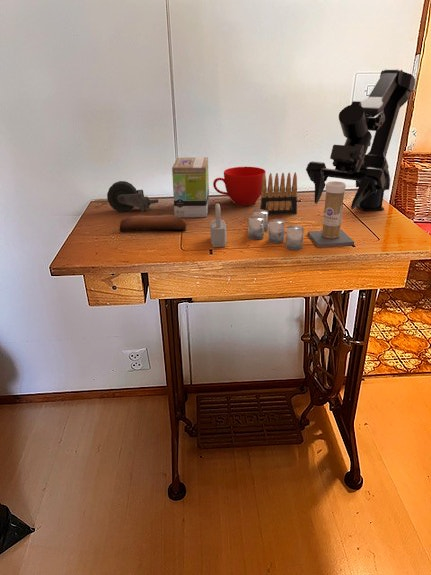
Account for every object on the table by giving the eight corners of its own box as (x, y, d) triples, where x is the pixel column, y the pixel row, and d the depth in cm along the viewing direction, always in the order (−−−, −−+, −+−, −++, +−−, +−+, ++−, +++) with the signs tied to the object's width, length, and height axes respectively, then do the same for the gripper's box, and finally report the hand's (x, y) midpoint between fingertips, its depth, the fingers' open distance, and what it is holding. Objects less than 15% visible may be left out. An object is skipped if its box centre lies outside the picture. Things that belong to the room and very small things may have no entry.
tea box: (208, 217, 131) (206, 166, 124) (173, 218, 131) (170, 167, 124) (209, 202, 144) (208, 155, 137) (178, 203, 144) (175, 156, 138)
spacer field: (286, 225, 123) (287, 207, 120) (304, 250, 107) (305, 230, 105) (244, 228, 122) (244, 210, 120) (255, 253, 106) (256, 233, 104)
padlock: (210, 237, 116) (209, 200, 112) (225, 237, 116) (225, 199, 112) (211, 247, 110) (209, 208, 106) (227, 247, 110) (226, 208, 106)
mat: (341, 232, 117) (341, 229, 117) (353, 244, 109) (354, 241, 109) (307, 234, 116) (307, 231, 116) (318, 247, 108) (318, 244, 108)
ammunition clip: (295, 211, 133) (298, 171, 128) (296, 213, 132) (299, 172, 126) (259, 212, 133) (260, 172, 128) (260, 214, 132) (261, 174, 126)
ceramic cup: (207, 201, 145) (205, 170, 141) (254, 195, 150) (254, 165, 146) (221, 212, 134) (221, 179, 130) (272, 205, 140) (273, 173, 135)
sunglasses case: (188, 221, 128) (186, 205, 122) (187, 240, 124) (185, 225, 119) (125, 222, 129) (120, 206, 123) (123, 241, 125) (118, 226, 119)
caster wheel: (110, 217, 137) (158, 210, 136) (102, 186, 132) (152, 179, 132) (113, 211, 142) (160, 205, 141) (106, 181, 137) (154, 174, 137)
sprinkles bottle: (319, 238, 112) (324, 184, 105) (323, 232, 115) (328, 180, 109) (338, 240, 110) (344, 186, 104) (341, 234, 114) (347, 181, 107)
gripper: (311, 127, 110) (289, 183, 107) (389, 132, 100) (366, 193, 97) (321, 154, 119) (301, 206, 116) (393, 161, 109) (373, 217, 106)
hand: (333, 205), depth 109 cm, fingers open, 9 cm apart
